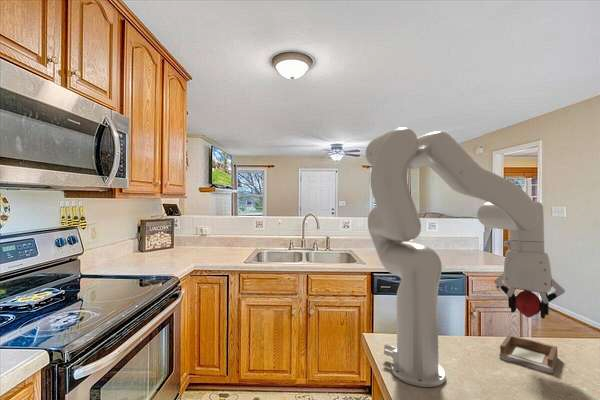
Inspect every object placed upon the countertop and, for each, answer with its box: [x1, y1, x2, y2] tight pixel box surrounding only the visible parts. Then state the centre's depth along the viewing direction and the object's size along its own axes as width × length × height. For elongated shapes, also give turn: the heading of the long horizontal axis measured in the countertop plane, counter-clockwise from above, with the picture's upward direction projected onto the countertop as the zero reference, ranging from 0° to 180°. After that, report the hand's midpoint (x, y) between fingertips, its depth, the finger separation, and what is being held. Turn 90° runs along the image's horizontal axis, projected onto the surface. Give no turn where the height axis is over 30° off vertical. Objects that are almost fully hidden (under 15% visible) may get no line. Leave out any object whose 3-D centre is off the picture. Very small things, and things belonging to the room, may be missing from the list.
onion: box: [515, 290, 542, 318], centre depth 82 cm, size 6×6×8 cm
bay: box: [499, 334, 559, 375], centre depth 82 cm, size 11×11×3 cm
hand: (528, 313), depth 82 cm, fingers closed on onion, 5 cm apart
